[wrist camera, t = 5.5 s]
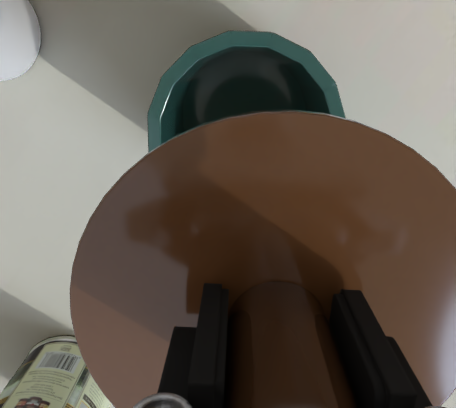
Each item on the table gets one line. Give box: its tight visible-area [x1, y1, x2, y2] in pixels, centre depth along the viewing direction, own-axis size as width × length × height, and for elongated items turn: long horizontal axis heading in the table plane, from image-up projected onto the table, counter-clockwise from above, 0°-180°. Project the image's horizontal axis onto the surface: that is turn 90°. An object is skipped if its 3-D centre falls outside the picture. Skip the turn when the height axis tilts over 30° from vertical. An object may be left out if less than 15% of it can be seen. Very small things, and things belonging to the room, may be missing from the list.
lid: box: [70, 110, 456, 408], centre depth 10 cm, size 13×13×6 cm
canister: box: [147, 31, 346, 152], centre depth 28 cm, size 12×12×10 cm
